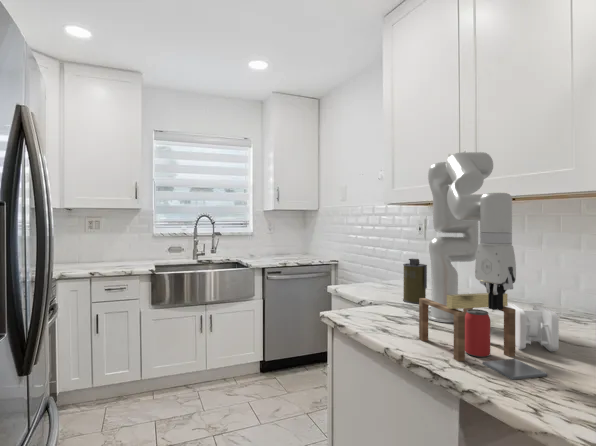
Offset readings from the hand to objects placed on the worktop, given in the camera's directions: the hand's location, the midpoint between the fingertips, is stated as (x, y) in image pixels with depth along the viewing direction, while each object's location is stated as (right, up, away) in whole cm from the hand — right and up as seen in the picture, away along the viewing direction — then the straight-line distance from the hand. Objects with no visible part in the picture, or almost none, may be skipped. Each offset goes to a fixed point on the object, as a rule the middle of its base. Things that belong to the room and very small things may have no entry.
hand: (495, 308), depth 99 cm
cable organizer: (+18, -15, +14) cm, 27 cm away
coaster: (+2, -14, -5) cm, 15 cm away
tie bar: (-2, -1, +7) cm, 7 cm away
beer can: (-2, -15, +7) cm, 16 cm away
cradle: (-3, -14, +13) cm, 19 cm away
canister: (+3, -15, +78) cm, 79 cm away
